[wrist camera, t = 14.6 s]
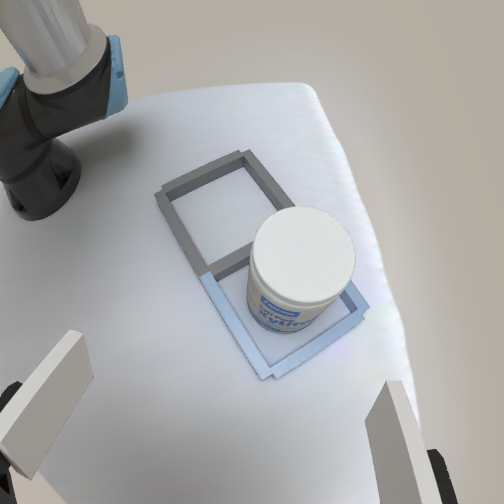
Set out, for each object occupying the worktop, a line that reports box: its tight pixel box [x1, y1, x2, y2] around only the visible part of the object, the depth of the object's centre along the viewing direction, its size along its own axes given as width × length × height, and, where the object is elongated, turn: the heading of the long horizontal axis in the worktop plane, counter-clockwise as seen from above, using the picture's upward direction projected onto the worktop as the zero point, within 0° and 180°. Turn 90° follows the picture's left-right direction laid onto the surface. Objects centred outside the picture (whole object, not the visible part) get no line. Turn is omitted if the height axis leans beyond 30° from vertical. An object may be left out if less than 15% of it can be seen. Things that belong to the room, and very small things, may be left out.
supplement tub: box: [247, 206, 356, 333], centre depth 34 cm, size 10×10×15 cm
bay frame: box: [154, 149, 370, 380], centre depth 42 cm, size 30×16×2 cm, turn 31°
